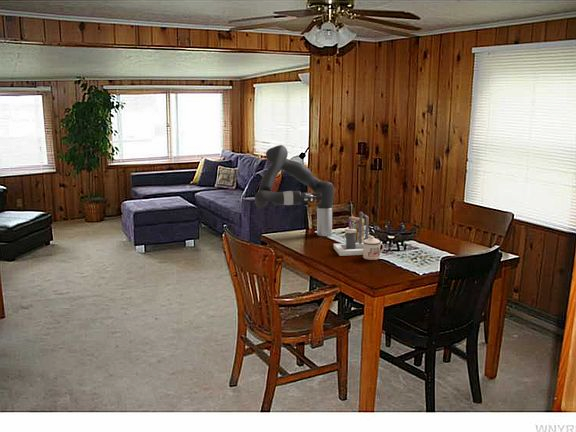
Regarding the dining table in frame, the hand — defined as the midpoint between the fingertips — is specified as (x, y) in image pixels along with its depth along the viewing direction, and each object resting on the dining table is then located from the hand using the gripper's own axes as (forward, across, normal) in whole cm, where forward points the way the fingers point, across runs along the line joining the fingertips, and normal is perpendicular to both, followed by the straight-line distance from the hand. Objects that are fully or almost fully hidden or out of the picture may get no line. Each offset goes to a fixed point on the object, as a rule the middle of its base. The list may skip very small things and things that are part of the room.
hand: (320, 196), depth 307 cm
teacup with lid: (+24, -19, +31) cm, 44 cm away
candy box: (+23, +11, +31) cm, 40 cm away
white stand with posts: (+18, -5, +31) cm, 36 cm away
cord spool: (+15, -5, +31) cm, 35 cm away
